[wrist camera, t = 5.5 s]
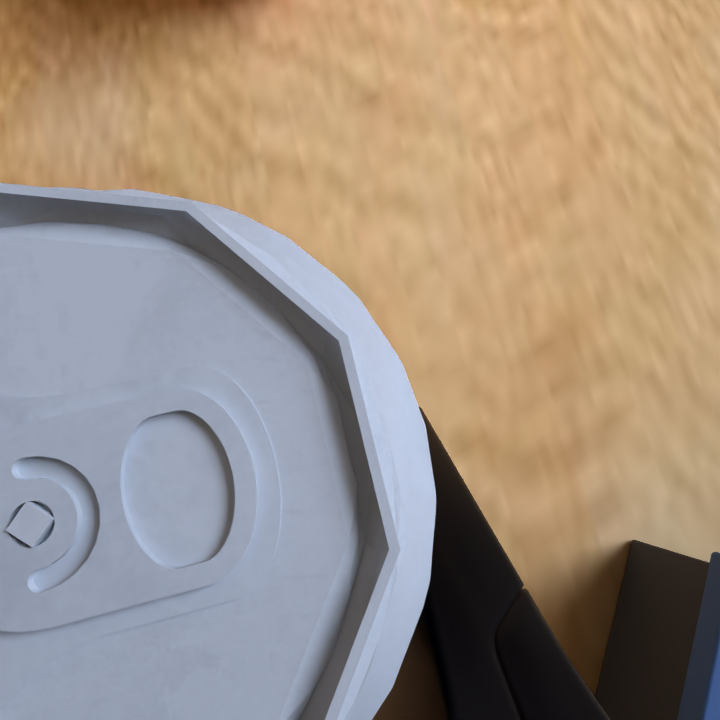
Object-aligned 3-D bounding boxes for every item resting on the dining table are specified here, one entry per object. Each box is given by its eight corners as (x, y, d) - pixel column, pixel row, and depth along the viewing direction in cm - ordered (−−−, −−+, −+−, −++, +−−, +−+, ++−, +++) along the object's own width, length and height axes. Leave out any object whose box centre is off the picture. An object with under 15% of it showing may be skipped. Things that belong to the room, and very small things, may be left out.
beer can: (162, 399, 15) (-500, 192, 3) (330, 361, 15) (358, 52, 3) (195, 575, 14) (-501, 1272, 2) (370, 529, 14) (584, 885, 3)
